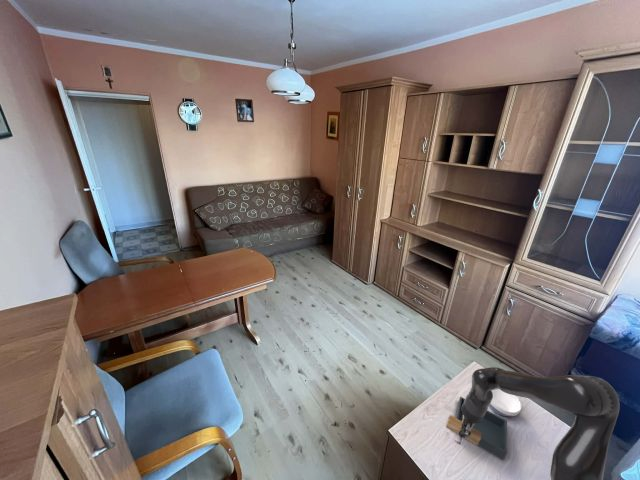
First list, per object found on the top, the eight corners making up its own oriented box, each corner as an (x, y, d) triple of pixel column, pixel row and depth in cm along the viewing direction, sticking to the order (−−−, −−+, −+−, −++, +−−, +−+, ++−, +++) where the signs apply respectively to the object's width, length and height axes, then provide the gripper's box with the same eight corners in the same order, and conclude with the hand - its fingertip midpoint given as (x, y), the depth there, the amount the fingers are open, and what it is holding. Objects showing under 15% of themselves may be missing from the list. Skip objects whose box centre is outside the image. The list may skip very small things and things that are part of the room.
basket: (501, 460, 111) (506, 453, 109) (452, 431, 121) (455, 424, 118) (502, 427, 123) (506, 420, 121) (457, 403, 132) (460, 396, 130)
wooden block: (476, 455, 104) (480, 448, 101) (443, 435, 109) (447, 428, 107) (477, 439, 109) (481, 432, 107) (446, 421, 114) (449, 414, 112)
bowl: (485, 387, 141) (490, 378, 138) (517, 406, 133) (523, 397, 129) (479, 407, 131) (484, 398, 128) (513, 429, 123) (519, 419, 119)
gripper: (484, 428, 95) (469, 454, 103) (486, 397, 106) (473, 422, 114) (461, 416, 99) (449, 441, 107) (466, 387, 110) (454, 412, 117)
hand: (462, 431), depth 110 cm, fingers closed on wooden block, 3 cm apart
